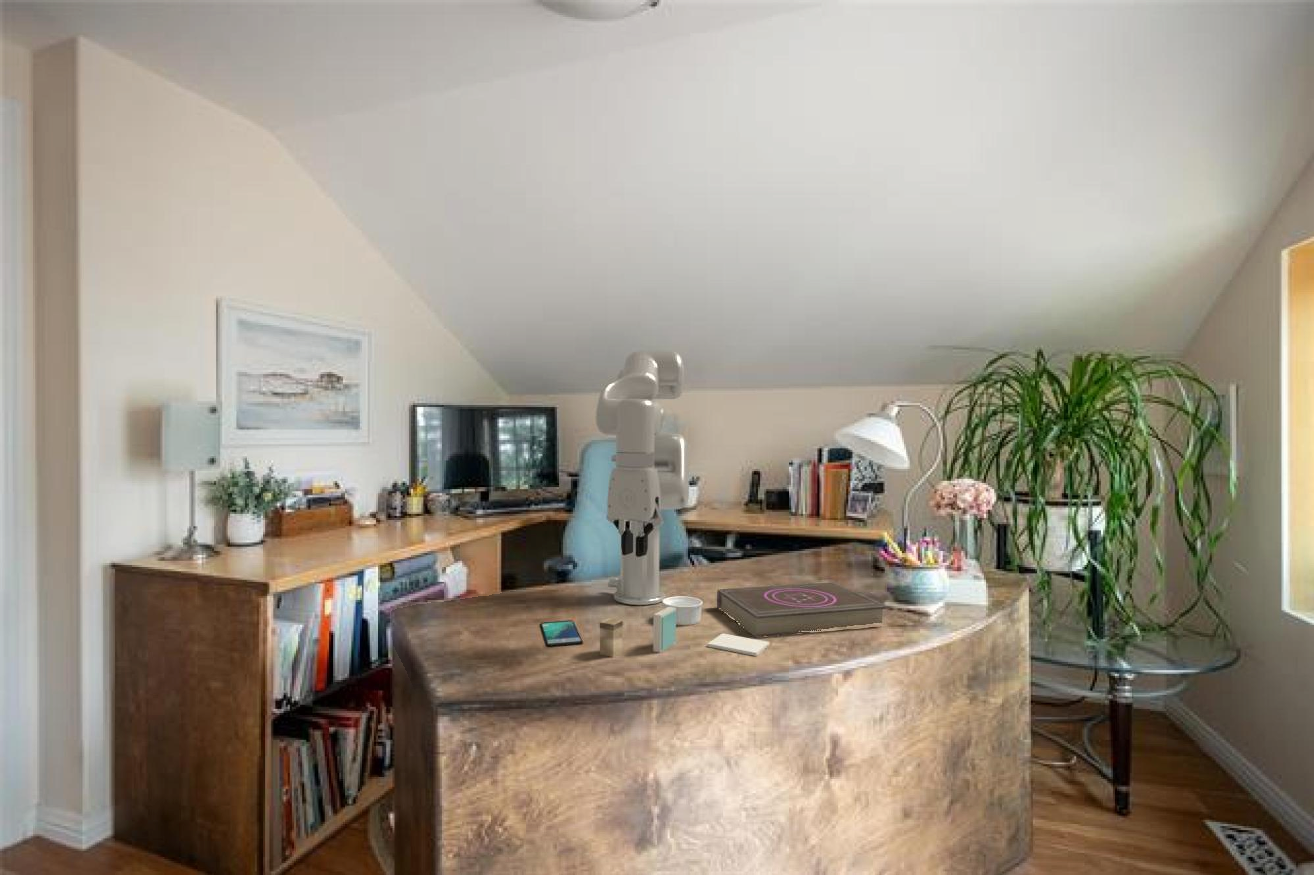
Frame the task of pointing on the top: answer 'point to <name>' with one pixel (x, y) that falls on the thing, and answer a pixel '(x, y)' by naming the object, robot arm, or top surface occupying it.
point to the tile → (664, 629)
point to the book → (798, 608)
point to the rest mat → (739, 644)
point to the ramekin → (685, 609)
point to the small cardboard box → (611, 637)
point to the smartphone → (560, 633)
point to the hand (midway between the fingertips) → (634, 554)
